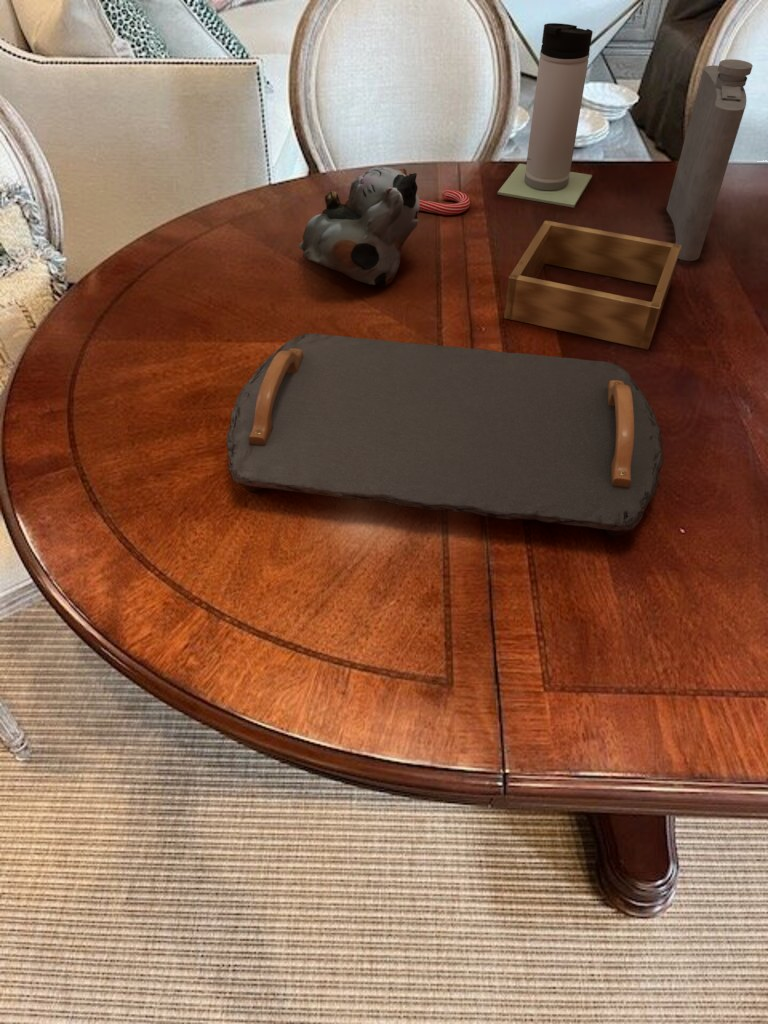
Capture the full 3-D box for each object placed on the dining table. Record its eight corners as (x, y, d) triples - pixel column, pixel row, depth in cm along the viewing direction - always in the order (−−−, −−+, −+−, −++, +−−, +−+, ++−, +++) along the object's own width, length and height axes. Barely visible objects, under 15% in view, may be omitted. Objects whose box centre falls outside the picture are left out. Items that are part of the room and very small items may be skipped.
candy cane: (376, 185, 113) (376, 175, 112) (475, 201, 109) (476, 191, 108) (359, 202, 109) (359, 192, 108) (461, 219, 105) (462, 208, 104)
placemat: (591, 177, 115) (592, 175, 114) (573, 207, 107) (574, 205, 107) (519, 165, 118) (519, 163, 117) (497, 194, 111) (497, 191, 110)
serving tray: (647, 388, 78) (663, 335, 74) (665, 560, 62) (686, 505, 58) (273, 351, 83) (267, 298, 79) (200, 502, 67) (187, 447, 63)
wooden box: (670, 284, 93) (681, 244, 89) (648, 350, 83) (659, 308, 80) (539, 258, 97) (545, 220, 94) (503, 318, 88) (508, 277, 84)
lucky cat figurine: (299, 242, 100) (340, 131, 94) (385, 280, 103) (430, 175, 97) (291, 265, 87) (338, 138, 81) (390, 308, 90) (442, 188, 84)
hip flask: (665, 205, 108) (708, 41, 94) (696, 207, 108) (743, 43, 93) (673, 259, 97) (723, 83, 83) (707, 262, 97) (763, 86, 82)
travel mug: (513, 181, 113) (531, 22, 98) (544, 169, 116) (566, 13, 101) (546, 195, 109) (570, 32, 95) (577, 183, 112) (604, 23, 98)
